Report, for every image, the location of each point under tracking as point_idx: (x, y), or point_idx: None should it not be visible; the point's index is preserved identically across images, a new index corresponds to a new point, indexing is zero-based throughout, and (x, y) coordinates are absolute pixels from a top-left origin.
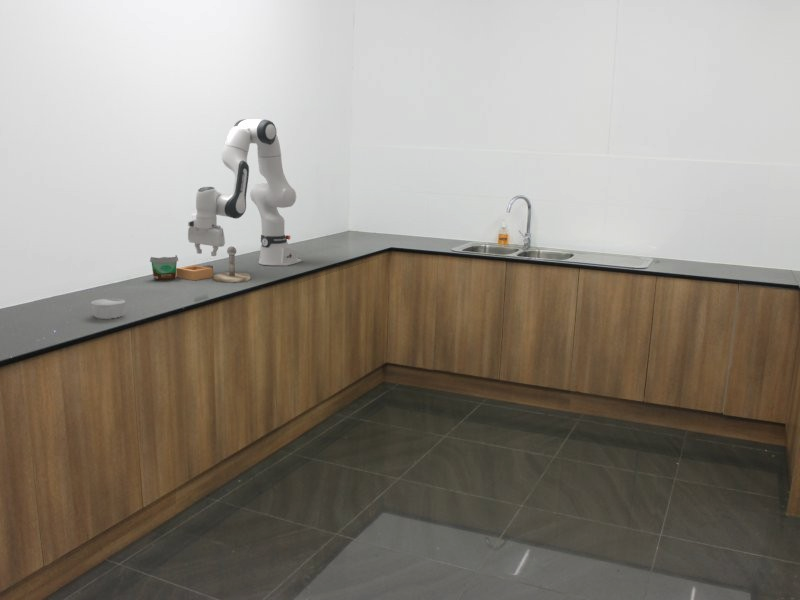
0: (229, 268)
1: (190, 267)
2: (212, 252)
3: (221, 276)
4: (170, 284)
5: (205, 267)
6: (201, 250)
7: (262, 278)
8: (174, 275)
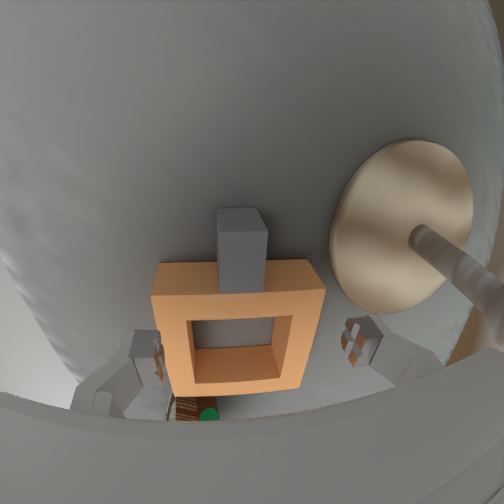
0: (436, 269)
1: (190, 348)
2: (368, 362)
3: (388, 284)
4: (272, 414)
5: (273, 306)
6: (156, 353)
7: (479, 137)
8: (211, 397)
